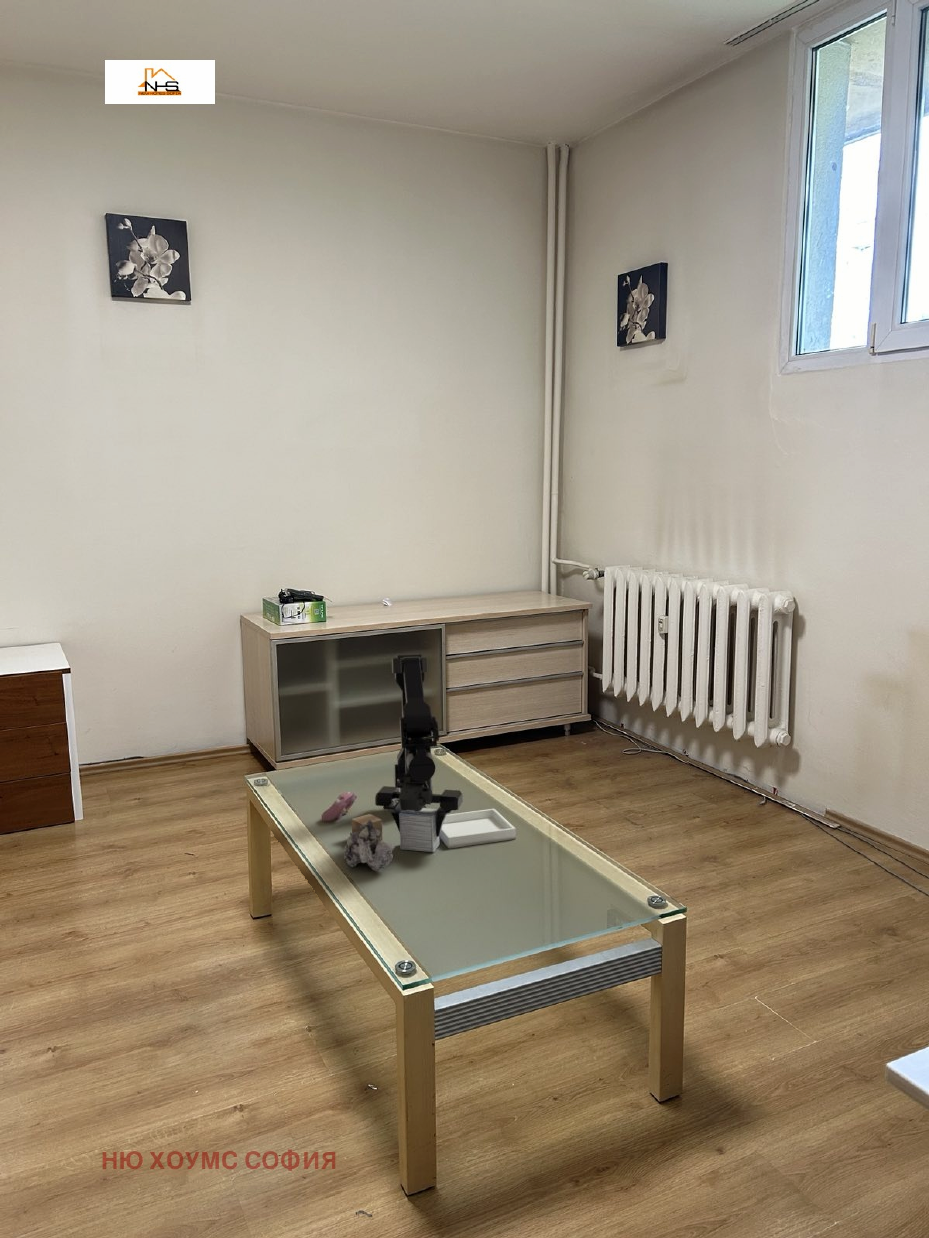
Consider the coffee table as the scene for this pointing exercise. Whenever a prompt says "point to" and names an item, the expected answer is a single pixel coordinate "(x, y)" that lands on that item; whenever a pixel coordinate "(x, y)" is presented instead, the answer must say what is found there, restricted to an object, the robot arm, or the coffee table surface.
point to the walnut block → (363, 820)
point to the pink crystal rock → (339, 807)
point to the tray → (476, 828)
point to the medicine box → (419, 830)
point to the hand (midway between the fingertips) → (419, 834)
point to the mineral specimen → (368, 848)
